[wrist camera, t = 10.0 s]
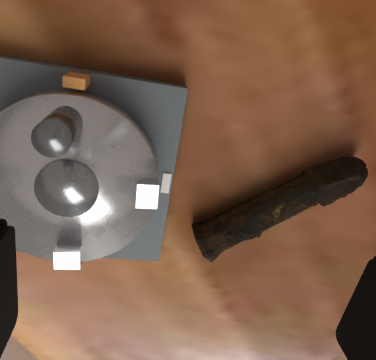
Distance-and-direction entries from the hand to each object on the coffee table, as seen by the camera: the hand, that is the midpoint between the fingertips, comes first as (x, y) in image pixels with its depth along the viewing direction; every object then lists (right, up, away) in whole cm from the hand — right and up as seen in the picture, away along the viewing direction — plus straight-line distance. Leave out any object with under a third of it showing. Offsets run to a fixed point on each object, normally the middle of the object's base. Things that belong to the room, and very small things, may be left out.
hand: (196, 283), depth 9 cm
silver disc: (-11, +3, +22) cm, 25 cm away
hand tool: (+9, +1, +28) cm, 30 cm away
